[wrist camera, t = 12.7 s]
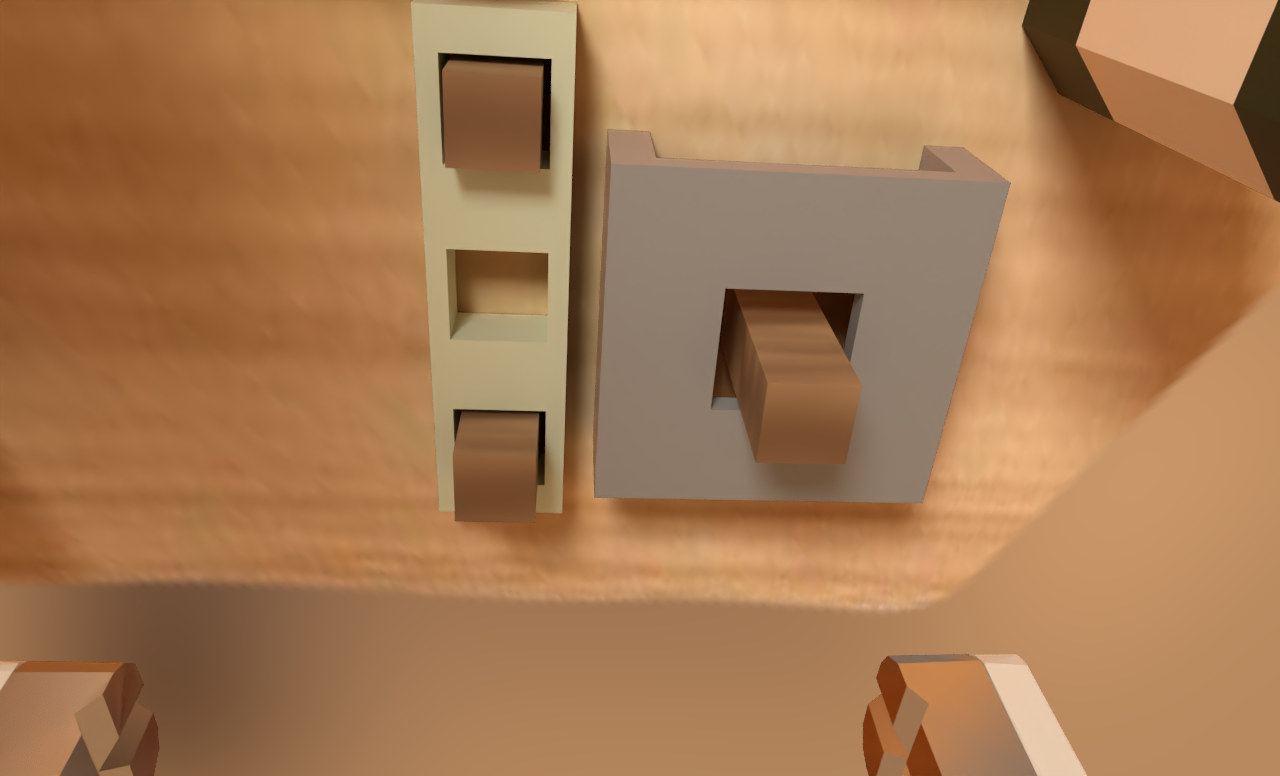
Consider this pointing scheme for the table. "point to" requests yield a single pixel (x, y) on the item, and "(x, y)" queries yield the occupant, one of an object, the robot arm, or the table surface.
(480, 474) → the pin medium
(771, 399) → the pin long
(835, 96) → the table surface
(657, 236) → the hole bridge
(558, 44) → the peg rack
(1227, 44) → the wine bottle
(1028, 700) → the robot arm
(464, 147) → the pin short
